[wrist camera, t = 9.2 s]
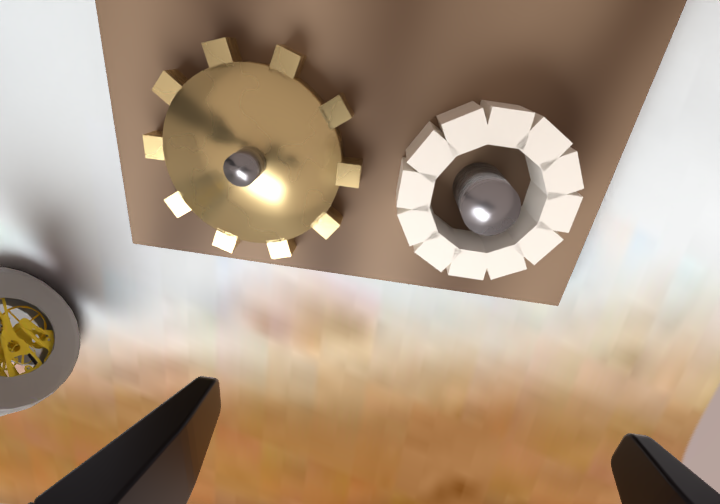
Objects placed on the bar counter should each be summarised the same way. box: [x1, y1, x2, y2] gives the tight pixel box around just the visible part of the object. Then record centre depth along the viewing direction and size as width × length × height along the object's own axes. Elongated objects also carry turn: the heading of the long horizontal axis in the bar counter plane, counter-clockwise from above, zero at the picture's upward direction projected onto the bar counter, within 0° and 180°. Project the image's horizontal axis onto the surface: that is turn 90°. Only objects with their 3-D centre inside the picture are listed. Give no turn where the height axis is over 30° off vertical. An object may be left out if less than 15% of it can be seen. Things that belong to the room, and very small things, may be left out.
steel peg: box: [453, 162, 521, 236], centre depth 15 cm, size 2×2×3 cm
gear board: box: [95, 0, 687, 306], centre depth 15 cm, size 20×18×2 cm
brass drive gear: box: [143, 37, 363, 259], centre depth 15 cm, size 8×8×2 cm
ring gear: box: [396, 100, 584, 280], centre depth 15 cm, size 6×6×2 cm
